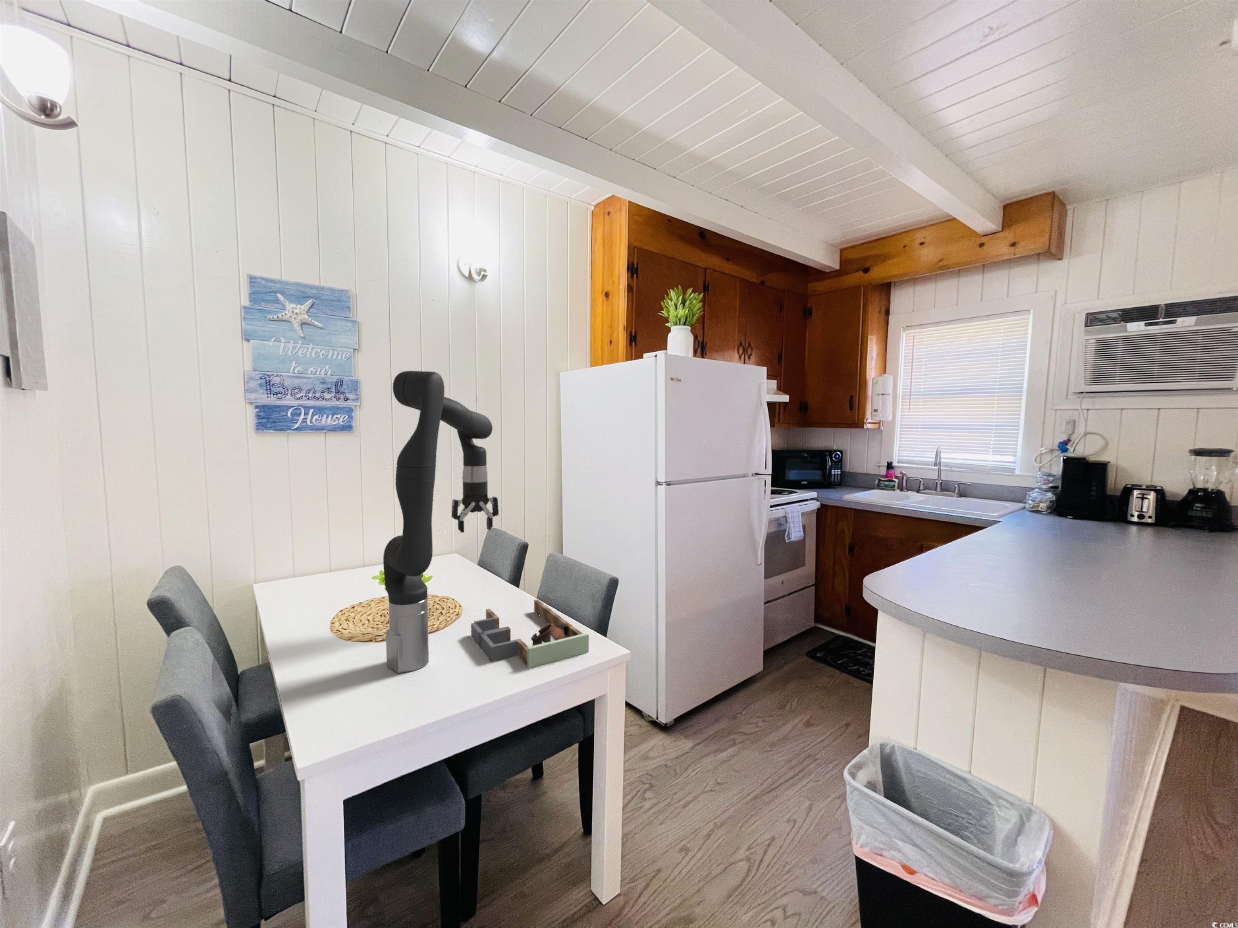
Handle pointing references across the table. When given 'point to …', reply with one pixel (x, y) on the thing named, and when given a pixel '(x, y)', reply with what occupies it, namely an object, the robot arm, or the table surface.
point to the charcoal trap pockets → (493, 640)
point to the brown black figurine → (548, 630)
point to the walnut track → (543, 612)
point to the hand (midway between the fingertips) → (475, 530)
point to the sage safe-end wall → (557, 650)
